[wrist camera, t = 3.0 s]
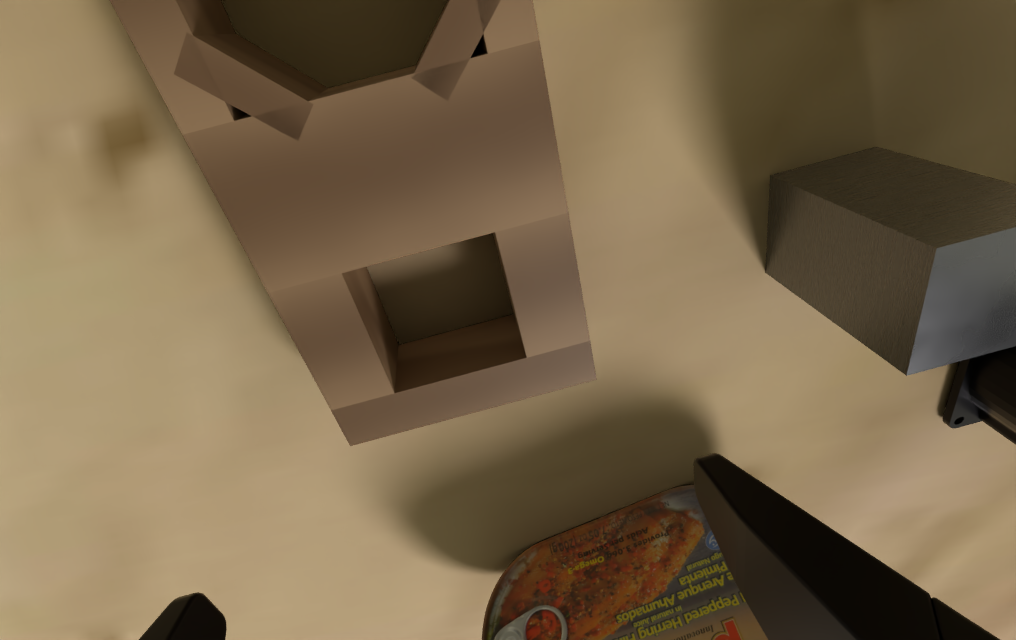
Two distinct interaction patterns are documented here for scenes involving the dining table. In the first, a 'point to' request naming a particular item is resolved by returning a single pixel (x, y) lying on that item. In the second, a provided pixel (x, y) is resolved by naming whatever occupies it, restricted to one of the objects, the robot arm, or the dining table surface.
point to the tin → (624, 581)
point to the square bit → (899, 254)
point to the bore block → (386, 201)
